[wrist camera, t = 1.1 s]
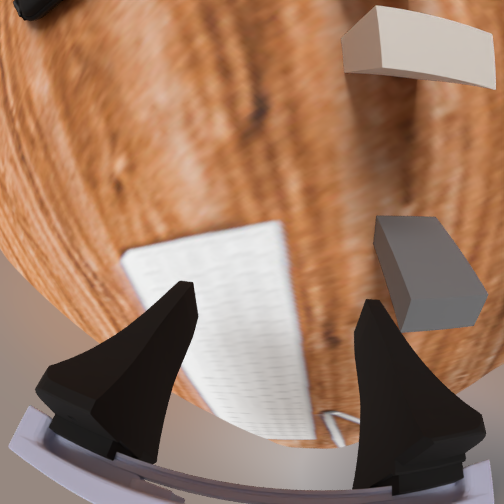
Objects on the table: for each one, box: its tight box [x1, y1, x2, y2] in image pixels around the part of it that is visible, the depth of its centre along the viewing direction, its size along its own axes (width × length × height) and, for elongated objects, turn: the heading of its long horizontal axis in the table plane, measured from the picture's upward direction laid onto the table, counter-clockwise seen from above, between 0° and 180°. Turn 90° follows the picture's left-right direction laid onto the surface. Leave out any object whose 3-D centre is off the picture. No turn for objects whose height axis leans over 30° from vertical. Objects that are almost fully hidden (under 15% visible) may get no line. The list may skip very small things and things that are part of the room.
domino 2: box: [373, 216, 488, 333], centre depth 16 cm, size 2×5×9 cm, turn 96°
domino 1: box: [341, 5, 496, 90], centre depth 10 cm, size 2×5×9 cm, turn 96°
